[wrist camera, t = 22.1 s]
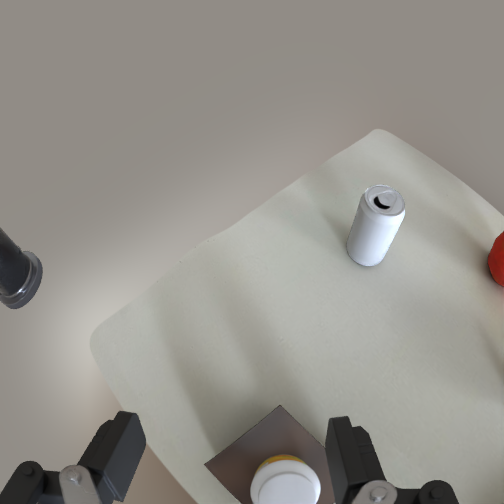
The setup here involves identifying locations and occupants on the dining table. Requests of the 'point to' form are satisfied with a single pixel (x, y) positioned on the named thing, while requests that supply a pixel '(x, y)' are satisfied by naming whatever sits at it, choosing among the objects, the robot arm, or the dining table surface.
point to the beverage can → (375, 224)
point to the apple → (497, 260)
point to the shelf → (270, 455)
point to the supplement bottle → (285, 482)
